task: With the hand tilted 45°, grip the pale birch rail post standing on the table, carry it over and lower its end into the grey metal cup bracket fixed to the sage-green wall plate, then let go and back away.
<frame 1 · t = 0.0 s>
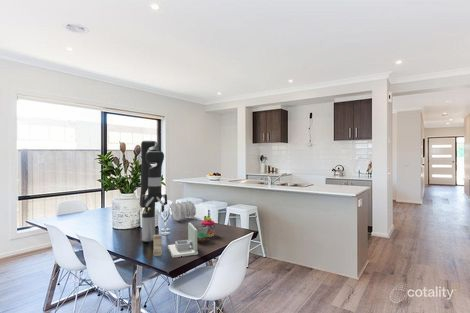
hand: (154, 212, 159), 29 cm above the table, tool pointing down, fingers open, 8 cm apart
food container: (201, 241, 198), on the table
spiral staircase: (183, 219, 266), on the table
cake: (207, 235, 212), on the table
rail post: (157, 254, 172), on the table
cup bracket: (182, 250, 179), on the table
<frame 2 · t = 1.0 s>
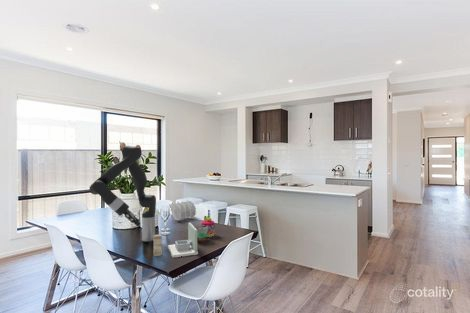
hand: (138, 223, 167), 21 cm above the table, tool tilted 45°, fingers open, 8 cm apart
nothing on the table moved.
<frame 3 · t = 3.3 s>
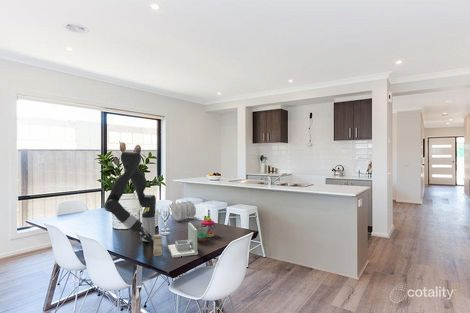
hand: (151, 239, 170), 10 cm above the table, tool tilted 45°, fingers open, 8 cm apart
nothing on the table moved.
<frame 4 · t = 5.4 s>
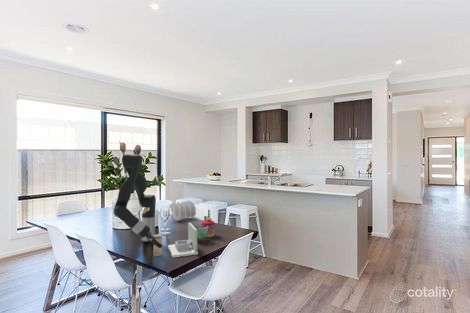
hand: (160, 245, 173), 5 cm above the table, tool tilted 45°, fingers closed on rail post, 4 cm apart
rail post: (157, 254, 172), on the table, touching gripper
everything else where it was.
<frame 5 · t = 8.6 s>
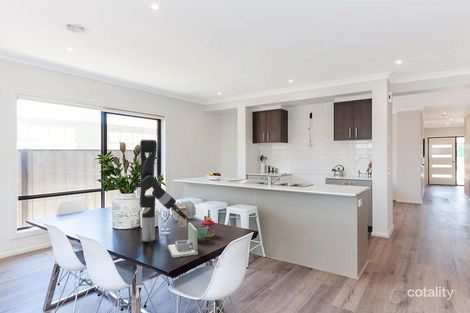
hand: (185, 217, 179), 22 cm above the table, tool tilted 45°, fingers closed on rail post, 4 cm apart
rail post: (182, 225, 179), point 17 cm above the table, touching gripper
everything else where it was.
when the fingers open (8 cm above the table, at t = 12.1 s): rail post drops 1 cm, resting on cup bracket.
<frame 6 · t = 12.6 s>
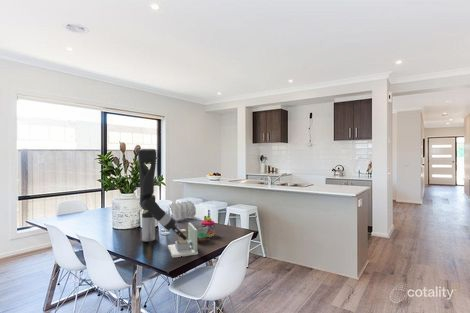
hand: (184, 237, 179), 9 cm above the table, tool tilted 45°, fingers open, 8 cm apart
rail post: (182, 248, 179), point 1 cm above the table, touching cup bracket
everything else where it was.
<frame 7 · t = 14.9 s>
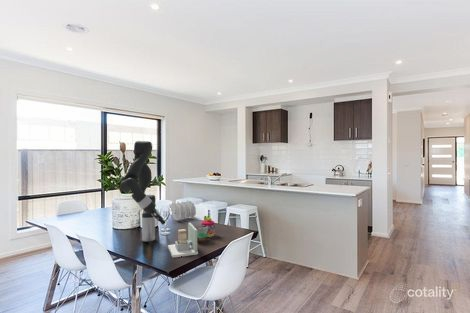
hand: (163, 221, 175), 20 cm above the table, tool tilted 40°, fingers open, 8 cm apart
nothing on the table moved.
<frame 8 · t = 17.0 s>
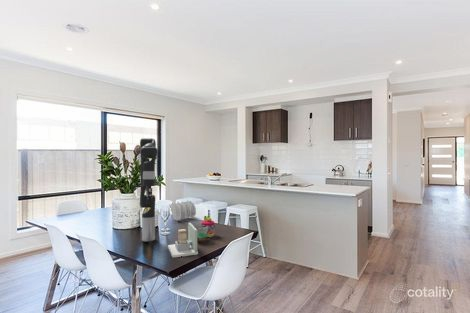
hand: (148, 203, 173), 32 cm above the table, tool pointing down, fingers open, 8 cm apart
nothing on the table moved.
at the end: rail post 0.1 cm off-centre on the cup bracket, point 1.5 cm above the cup bracket's base; rail post tilted 0°; the gripper is holding nothing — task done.
